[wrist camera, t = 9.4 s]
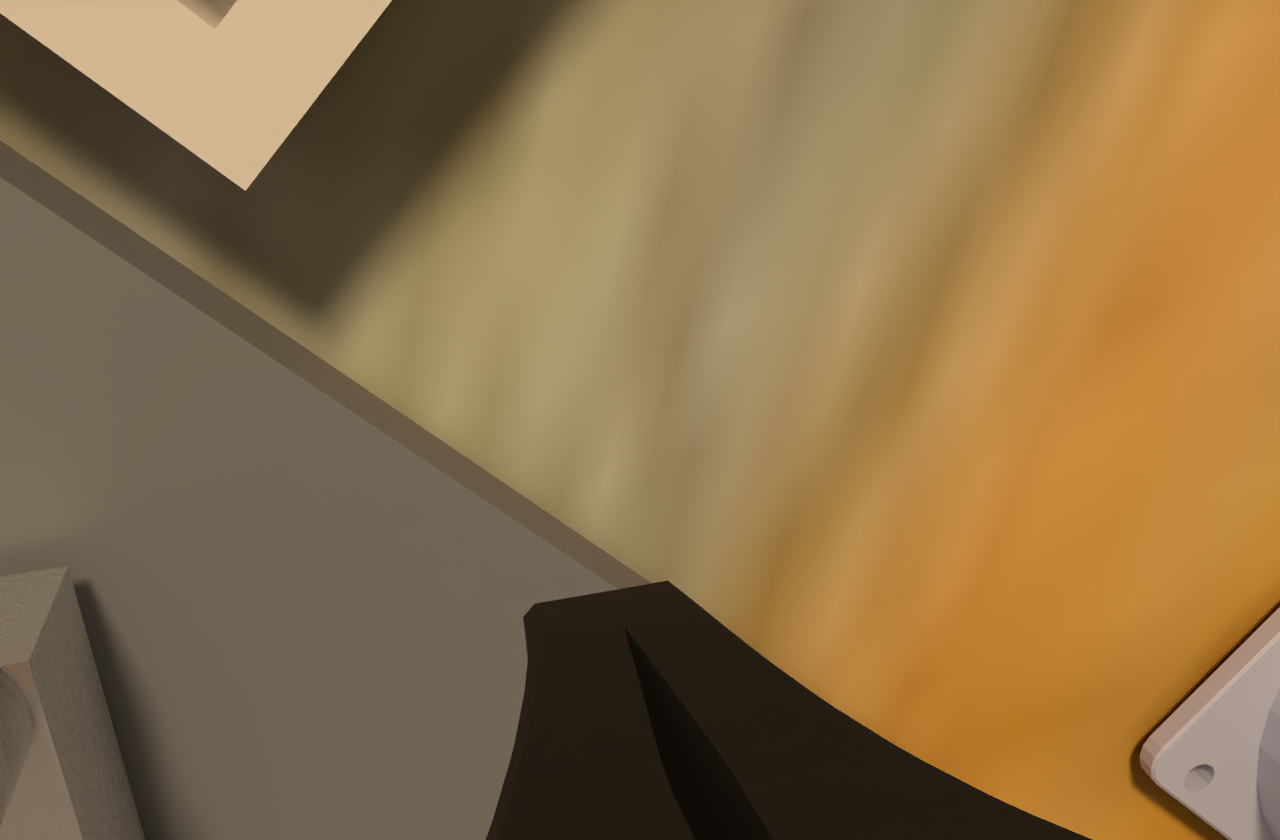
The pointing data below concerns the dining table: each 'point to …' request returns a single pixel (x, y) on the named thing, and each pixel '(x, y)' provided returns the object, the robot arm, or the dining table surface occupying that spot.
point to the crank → (55, 721)
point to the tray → (207, 63)
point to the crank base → (259, 549)
